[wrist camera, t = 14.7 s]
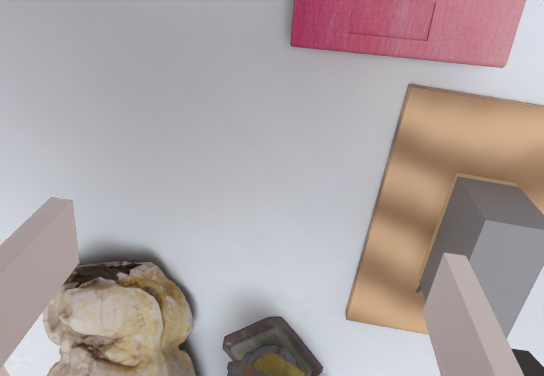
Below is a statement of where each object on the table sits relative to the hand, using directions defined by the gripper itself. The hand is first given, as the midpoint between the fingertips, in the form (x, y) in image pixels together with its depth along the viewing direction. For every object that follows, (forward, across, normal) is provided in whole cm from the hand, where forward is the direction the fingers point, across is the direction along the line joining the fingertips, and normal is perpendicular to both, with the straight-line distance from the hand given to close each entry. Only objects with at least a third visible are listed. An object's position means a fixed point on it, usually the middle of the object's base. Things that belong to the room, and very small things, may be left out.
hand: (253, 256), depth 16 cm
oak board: (+23, +16, -11) cm, 30 cm away
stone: (+23, -11, -31) cm, 40 cm away
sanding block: (+22, +17, -11) cm, 30 cm away
